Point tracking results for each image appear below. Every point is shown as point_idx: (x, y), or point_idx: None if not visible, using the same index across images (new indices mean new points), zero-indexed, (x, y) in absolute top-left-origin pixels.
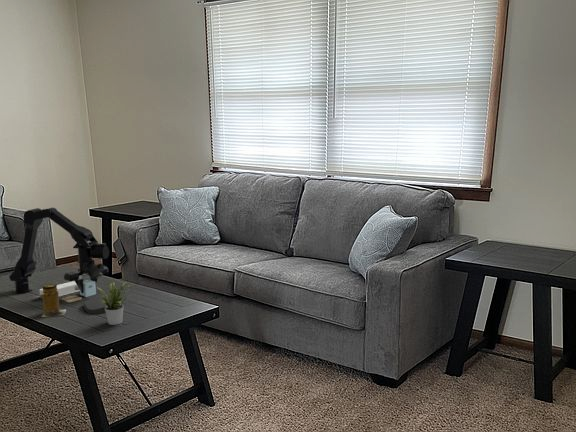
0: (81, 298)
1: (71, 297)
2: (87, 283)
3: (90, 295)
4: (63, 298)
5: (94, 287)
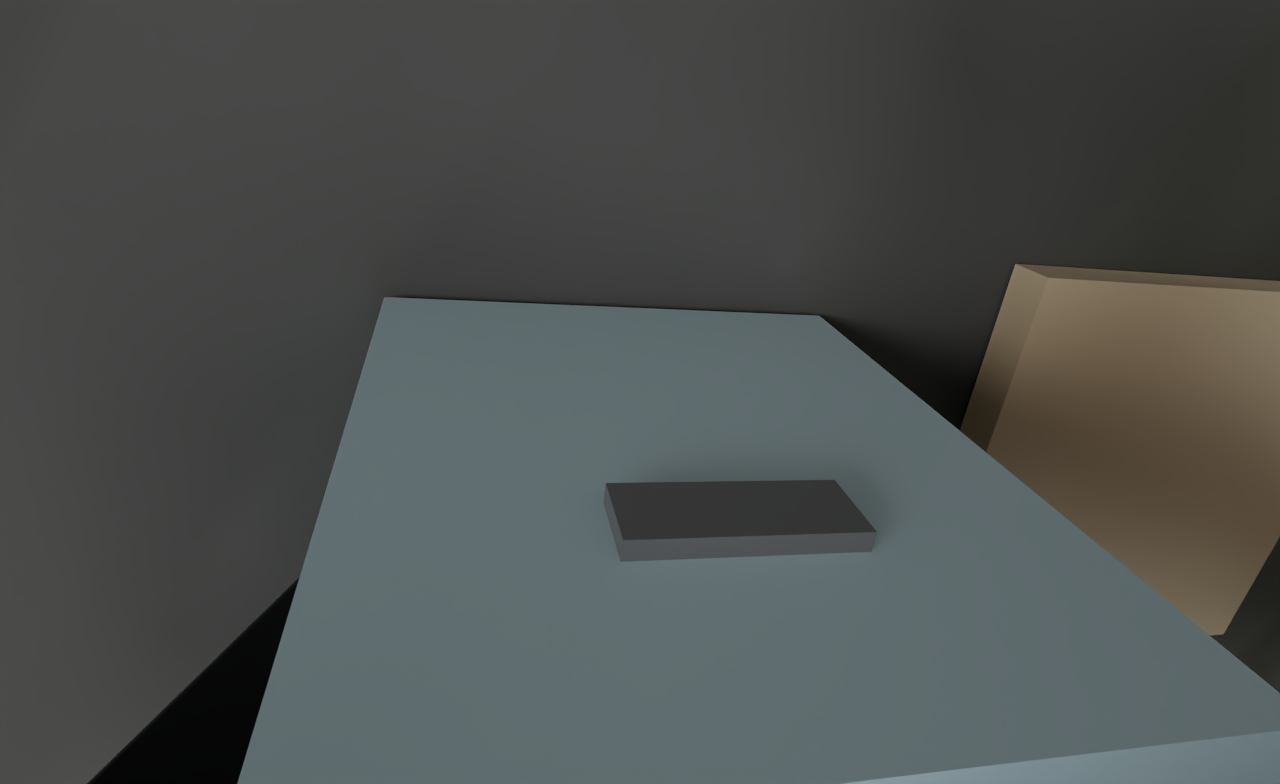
0: (1037, 272)
1: (1109, 538)
2: (1130, 749)
3: (646, 315)
4: (1219, 607)
5: (431, 455)
